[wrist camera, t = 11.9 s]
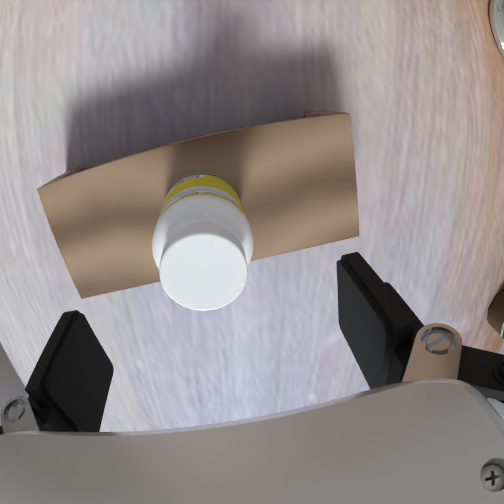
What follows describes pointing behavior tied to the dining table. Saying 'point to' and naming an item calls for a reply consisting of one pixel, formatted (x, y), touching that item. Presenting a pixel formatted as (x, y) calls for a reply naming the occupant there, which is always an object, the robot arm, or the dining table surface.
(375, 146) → the dining table surface
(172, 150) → the wooden shelf
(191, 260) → the supplement bottle
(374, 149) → the dining table surface
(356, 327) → the robot arm
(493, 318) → the beer bottle
